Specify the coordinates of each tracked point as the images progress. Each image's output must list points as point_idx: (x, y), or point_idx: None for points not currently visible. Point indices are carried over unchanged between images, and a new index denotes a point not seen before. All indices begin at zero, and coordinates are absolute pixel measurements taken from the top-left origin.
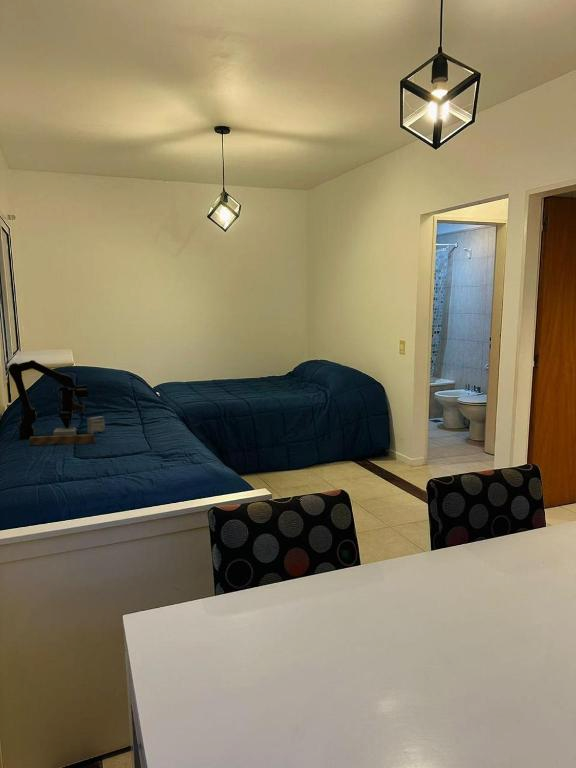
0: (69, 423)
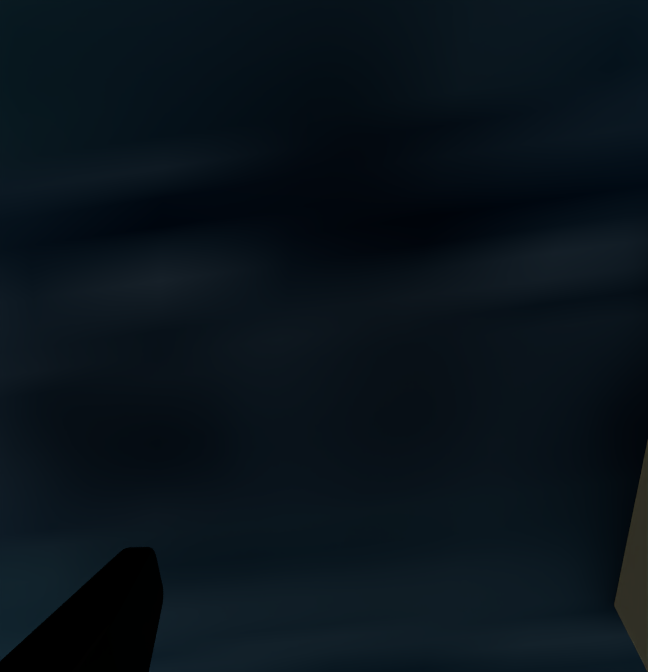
0: (132, 629)
